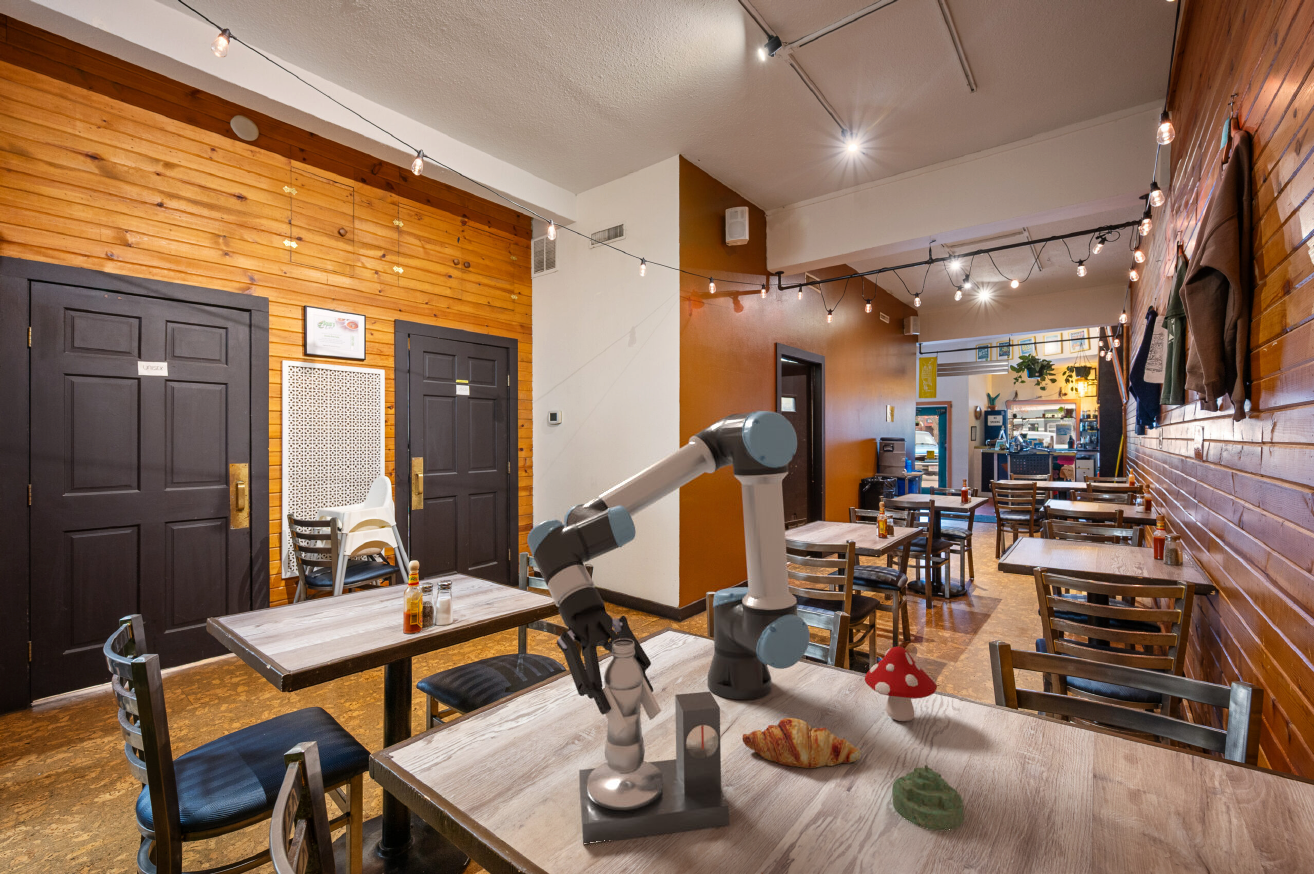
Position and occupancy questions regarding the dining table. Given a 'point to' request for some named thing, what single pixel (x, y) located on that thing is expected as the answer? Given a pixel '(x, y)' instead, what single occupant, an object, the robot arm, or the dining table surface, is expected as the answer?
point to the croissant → (800, 745)
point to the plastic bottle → (625, 708)
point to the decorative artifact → (927, 800)
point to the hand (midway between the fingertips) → (638, 722)
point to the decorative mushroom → (900, 682)
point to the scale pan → (624, 787)
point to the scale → (671, 782)
